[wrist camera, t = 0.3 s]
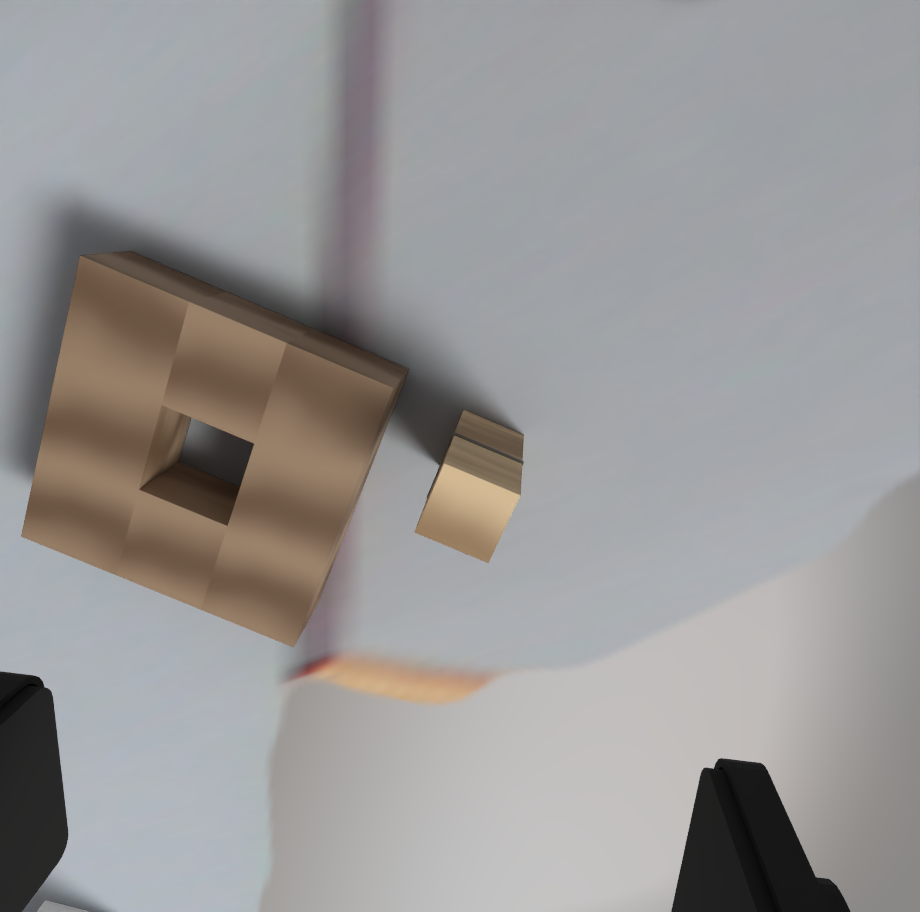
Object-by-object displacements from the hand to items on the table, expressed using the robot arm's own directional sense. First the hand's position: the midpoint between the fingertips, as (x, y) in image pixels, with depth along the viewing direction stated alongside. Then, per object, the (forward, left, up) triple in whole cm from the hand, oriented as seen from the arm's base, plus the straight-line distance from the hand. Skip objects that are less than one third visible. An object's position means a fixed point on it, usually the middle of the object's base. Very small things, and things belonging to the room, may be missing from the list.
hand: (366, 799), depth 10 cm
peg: (+6, +2, -34) cm, 35 cm away
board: (+12, -13, -34) cm, 39 cm away
